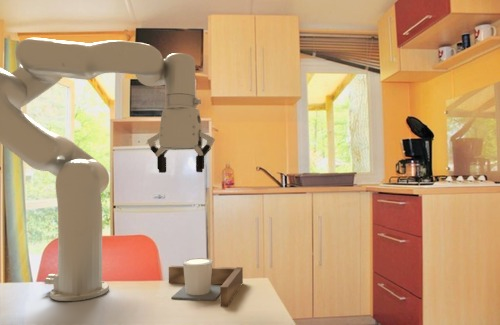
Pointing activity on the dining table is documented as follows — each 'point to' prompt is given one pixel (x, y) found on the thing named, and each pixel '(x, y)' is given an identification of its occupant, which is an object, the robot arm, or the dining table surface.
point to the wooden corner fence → (215, 280)
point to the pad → (206, 297)
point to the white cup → (197, 276)
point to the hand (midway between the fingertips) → (180, 172)
